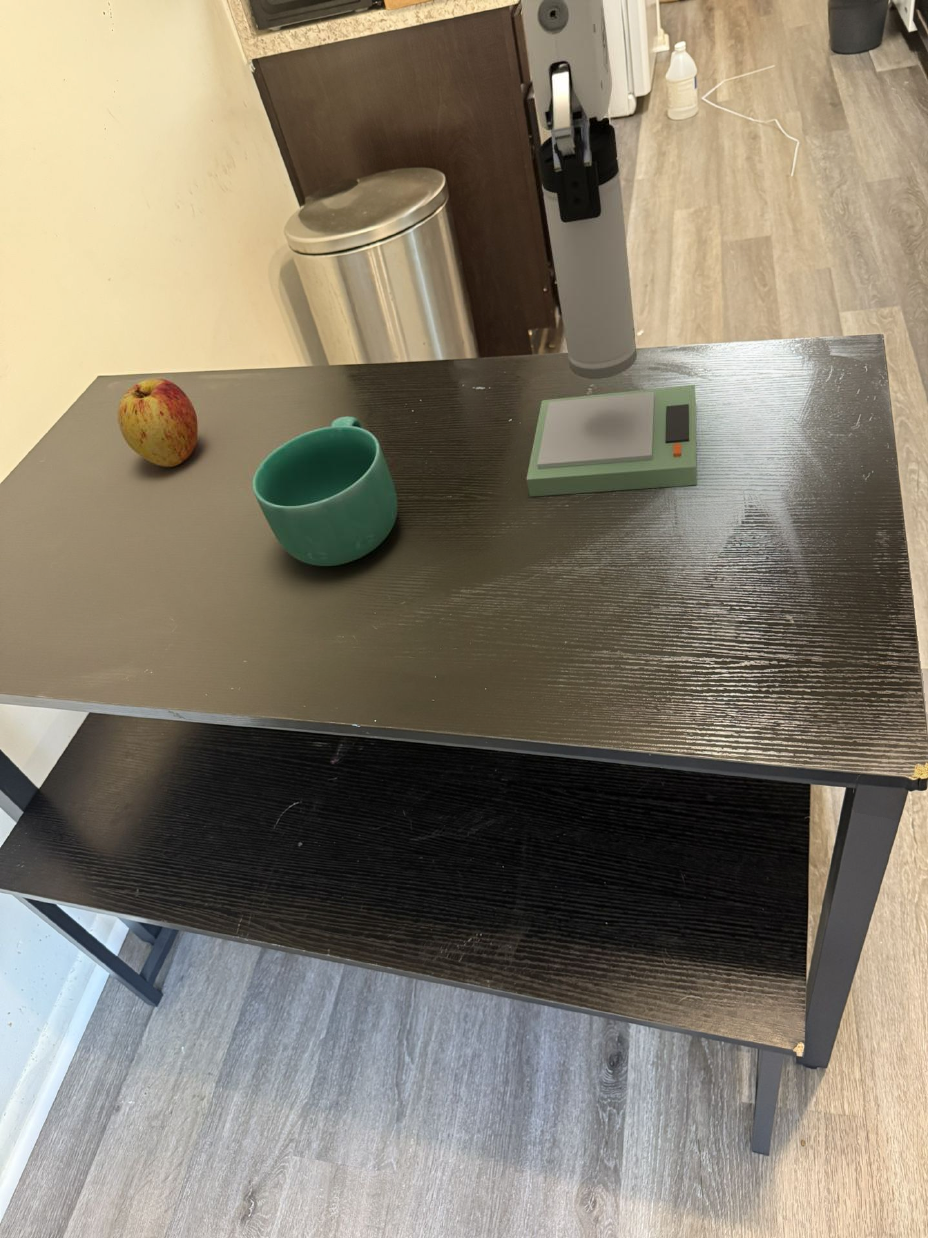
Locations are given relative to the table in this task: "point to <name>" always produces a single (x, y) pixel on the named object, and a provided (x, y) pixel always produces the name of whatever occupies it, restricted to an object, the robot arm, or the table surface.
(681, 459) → the scale
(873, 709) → the table surface
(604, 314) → the travel mug
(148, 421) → the apple
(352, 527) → the mug
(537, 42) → the robot arm
